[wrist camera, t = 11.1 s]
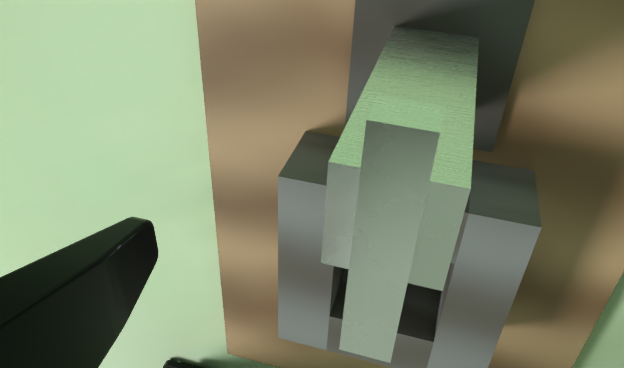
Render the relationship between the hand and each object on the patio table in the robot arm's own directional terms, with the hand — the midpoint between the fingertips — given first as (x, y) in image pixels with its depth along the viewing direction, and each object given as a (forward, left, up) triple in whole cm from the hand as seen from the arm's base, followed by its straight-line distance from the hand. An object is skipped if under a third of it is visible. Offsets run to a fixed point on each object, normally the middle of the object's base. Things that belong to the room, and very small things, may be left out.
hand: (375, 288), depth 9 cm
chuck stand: (-9, 0, -12) cm, 15 cm away
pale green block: (0, 0, -11) cm, 11 cm away
